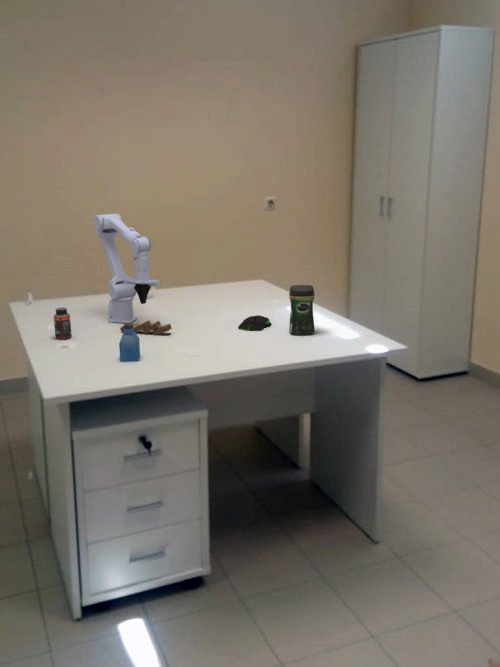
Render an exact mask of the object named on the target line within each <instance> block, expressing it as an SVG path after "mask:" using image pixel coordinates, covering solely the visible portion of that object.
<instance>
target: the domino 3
mask: <svg viewBox="0 0 500 667" xmlns="http://www.w3.org/2000/svg"><path fill="white" fill-rule="evenodd" d="M172 328H173V327H172V325H171V323H167V324H164V325H161V326H159V327H158V328H156V329H154V330H152V331H151V332H152V333H153V336H156V335H160V334H163V333H166V332H169V331H170V330H173V329H172Z"/></svg>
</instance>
